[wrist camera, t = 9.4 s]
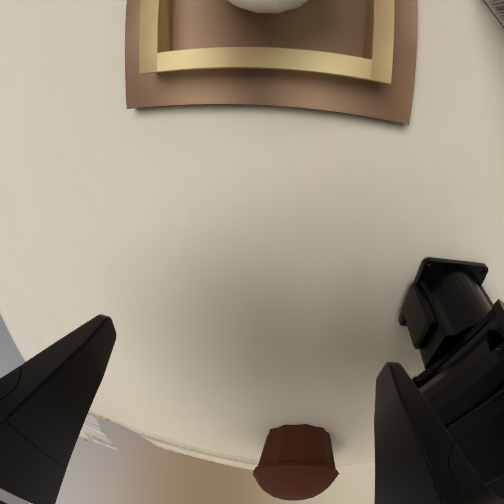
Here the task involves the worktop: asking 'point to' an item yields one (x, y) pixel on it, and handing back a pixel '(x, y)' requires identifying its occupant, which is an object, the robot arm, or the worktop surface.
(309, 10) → the holder
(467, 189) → the worktop surface
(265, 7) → the white cup
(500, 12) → the coffee box
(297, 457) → the muffin
